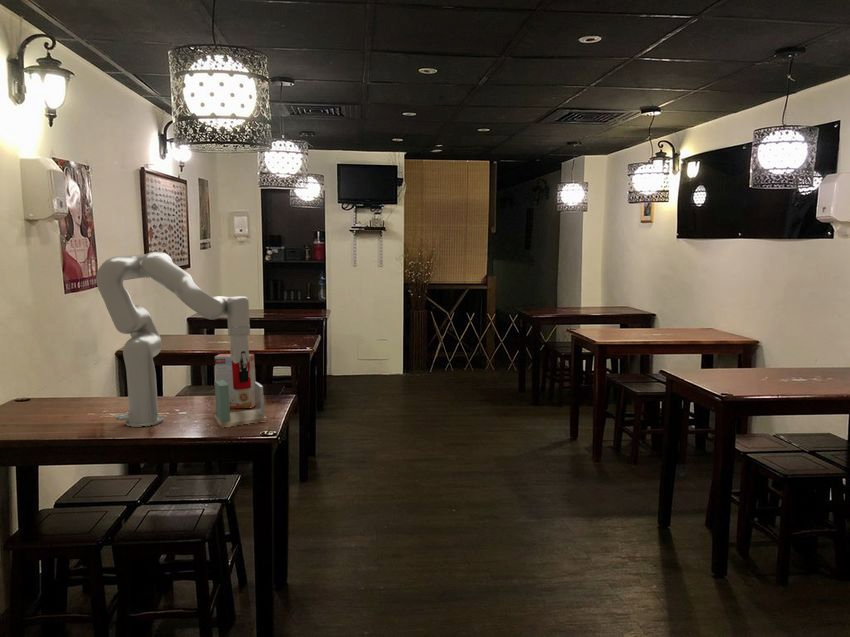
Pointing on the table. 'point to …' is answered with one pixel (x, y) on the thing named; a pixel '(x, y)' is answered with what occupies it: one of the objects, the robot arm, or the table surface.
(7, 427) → the table surface
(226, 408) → the grey green slab
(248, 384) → the beverage can
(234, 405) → the cracker box
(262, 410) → the grey metal plate
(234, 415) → the shelf board
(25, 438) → the table surface
